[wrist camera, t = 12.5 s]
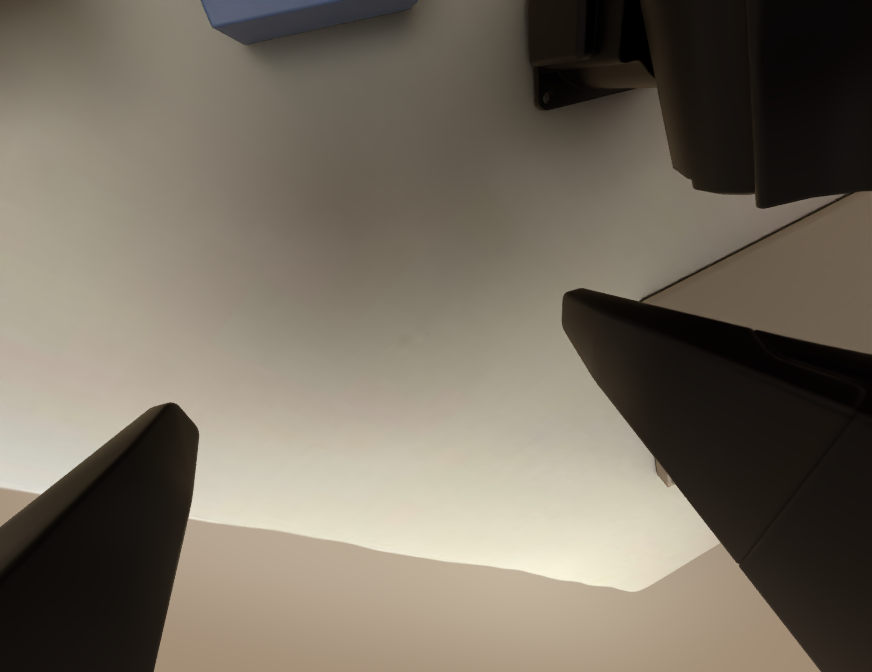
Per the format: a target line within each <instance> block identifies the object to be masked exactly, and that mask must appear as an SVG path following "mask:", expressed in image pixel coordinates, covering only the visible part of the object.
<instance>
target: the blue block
mask: <svg viewBox="0 0 872 672" xmlns="http://www.w3.org/2000/svg"><path fill="white" fill-rule="evenodd" d="M417 1H418V0H201V3H202V5H203V7H204V10H205V12H206V14H207V17H208V19H209V21H210V24H211V26H212V27H213V28H215V29H216V30H218V31H220V32H222V33H224V34H226V35H227V36H229V37H231V38H233V39H235V40H236V41H238V42H240V43H242V44H244V45H247V44H251V43H256V42H260V41H265V40H270V39H274V38H279V37H283V36H288V35H293V34H297V33H302V32H306V31H311V30H316V29H320V28H325V27H330V26H334V25H339V24H343V23H348V22H353V21H357V20H362V19H366V18H371V17H376V16H380V15H385V14H389V13H394V12H399V11H403V10H408V9H411V8H412V7H413V6H414V5H415V3H416V2H417Z"/></svg>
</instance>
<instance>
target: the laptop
mask: <svg viewBox="0 0 872 672" xmlns="http://www.w3.org/2000/svg"><path fill="white" fill-rule="evenodd" d="M642 302H643V303H647V304H651V305H655V306H660V307H664V308H668V309H672V310H677V311H681V312H685V313H689V314H693V315H698V316H702V317H706V318H710V319H714V320H719V321H723V322H727V323H731V324H736V325H740V326H744V327H748V328H752V329H753V331H754V330H761V331H765V332H770V333H774V334H778V335H782V336H787V337H791V338H796V339H800V340H805V341H809V342H814V343H818V344H823V345H828V346H833V347H838V348H843V349H848V350H853V351H858V352H863V353H868V354H872V191H861V192H855V193H853V194H851V195H849V196H847V197H845V198H843V199H841V200H839V201H837V202H836V203H834V204H832V205H830V206H828V207H826V208H824V209H822V210H820V211H818V212H816V213H814V214H812V215H810V216H808V217H806V218H804V219H802V220H800V221H798V222H796V223H794V224H793V225H791V226H789V227H787V228H785V229H783V230H781V231H779V232H777V233H775V234H773V235H771V236H769V237H767V238H765V239H763V240H761V241H759V242H757V243H755V244H753V245H751V246H750V247H748V248H746V249H744V250H742V251H740V252H738V253H736V254H734V255H732V256H730V257H728V258H726V259H724V260H722V261H720V262H718V263H716V264H714V265H712V266H710V267H708V268H707V269H705V270H703V271H701V272H699V273H697V274H695V275H693V276H691V277H689V278H687V279H685V280H683V281H681V282H679V283H677V284H675V285H673V286H671V287H669V288H667V289H665V290H664V291H662V292H660V293H658V294H656V295H654V296H652V297H650V298H648V299H646V300H644V301H642ZM656 467H657V475H658V476H659V477H660V478H661V480H662V481H663V482H664V483H665V484H666V486H667V487H670V486H672V485H674V484H675V483H674V482H673V480H672V479H671V478H670V477H669V475H668V474H667V473H666V471H665V470H664V469H663V468H662V466H661V465H660V464H659V462H658V461H657V460H656Z"/></svg>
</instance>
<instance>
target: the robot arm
mask: <svg viewBox="0 0 872 672" xmlns="http://www.w3.org/2000/svg"><path fill="white" fill-rule="evenodd" d="M529 35H530V62H531V63H532V64H533V66H534V89H535V105H536V106H537V108H538V109H540V110H551V109H555V108H559V107H563V106H567V105H571V104H575V103H579V102H583V101H587V100H591V99H595V98H599V97H603V96H607V95H611V94H615V93H619V92H623V91H627V90H631V89H636V88H652V87H657V90H658V95H659V100H660V105H661V110H662V115H663V120H664V125H665V130H666V135H667V140H668V145H669V150H670V155H671V160H672V165H673V168H674V169H675V170H677V171H678V172H679V173H681V174H682V175H683V176H685V177H686V178H688V179H691V180H692V185H693V188H694V189H696V190H701V191H706V192H712V193H717V194H729V195H751V194H755V199H756V207H757V208H762V209H765V208H770V207H774V206H778V205H782V204H787V203H791V202H795V201H799V200H804V199H808V198H812V197H820V196H828V195H836V194H845V193H853V192H861V191H872V0H529ZM545 93H548V94H549V100H548V102H547V103H546V104H545V103H544V101H543V97H544V95H545ZM562 326H563V329H564V331H565V333H566V335H567V336H568V338H569V339H570V341H571V343H572V344H573V346H574V348H575V349H576V351H577V353H578V354H579V356H580V358H581V359H582V361H583V363H584V364H585V366H586V367H587V369H588V371H589V372H590V374H591V375H592V377H593V378H594V380H595V381H596V383H597V384H598V385H599V387H600V388H601V389H602V391H603V392H604V393H605V394H606V396H607V397H608V398H609V400H610V401H611V402H612V403H613V405H614V406H615V407H616V409H617V410H618V411H619V412H620V414H621V415H622V416H623V418H624V419H625V420H626V421H627V423H628V424H629V425H630V427H631V428H632V429H633V430H634V432H635V433H636V434H637V436H638V437H639V438H640V439H641V441H642V442H643V443H644V445H645V446H646V447H647V448H648V450H649V451H650V452H651V453H652V455H653V456H654V457H655V459H656V460H657V461H658V462H659V464H660V465H661V466H662V468H663V469H664V470H665V471H666V473H667V474H668V475H669V477H670V478H671V479H672V480H673V482H674V483H675V484H676V486H677V487H678V488H679V489H680V491H681V492H682V493H683V495H684V496H685V497H686V498H687V500H688V501H689V502H690V504H691V505H692V506H693V507H694V509H695V510H696V511H697V513H698V514H699V515H700V516H701V518H702V519H703V520H704V522H705V523H706V524H707V525H708V527H709V528H710V529H711V531H712V532H713V533H714V534H715V536H716V537H717V538H718V540H719V541H720V542H721V543H722V545H723V546H724V547H725V548H726V550H727V551H728V552H729V554H730V555H731V556H732V558H733V559H734V560H735V561H736V563H738V564H739V567H740V568H741V570H742V571H743V572H744V573H745V575H746V576H747V577H748V579H749V580H750V581H751V582H752V584H753V585H754V586H755V587H756V589H757V590H758V591H759V593H760V594H761V595H762V597H763V598H764V599H765V600H766V602H767V603H768V604H769V605H770V607H771V608H772V609H773V611H774V612H775V613H776V614H777V616H778V617H779V618H780V620H781V621H782V622H783V624H784V625H785V626H786V627H787V629H788V630H789V631H790V633H791V634H792V635H793V636H794V638H795V639H796V640H797V642H798V643H799V644H800V645H801V647H802V648H803V649H804V651H805V652H806V653H807V654H808V656H809V657H810V658H811V660H812V661H813V662H814V663H815V665H816V666H817V667H818V669H819V670H820V671H821V672H872V354H868V353H863V352H858V351H853V350H848V349H843V348H838V347H833V346H828V345H823V344H818V343H814V342H809V341H805V340H800V339H796V338H791V337H787V336H782V335H778V334H774V333H770V332H765V331H761V330H754V331H753V329H752V328H748V327H744V326H740V325H736V324H731V323H727V322H723V321H719V320H714V319H710V318H706V317H702V316H698V315H693V314H689V313H685V312H681V311H677V310H672V309H668V308H664V307H660V306H655V305H651V304H647V303H643V302H639V301H634V300H630V299H626V298H622V297H618V296H613V295H609V294H605V293H601V292H596V291H592V290H588V289H584V288H579V289H575V290H572V291H568V292H566V293H565V294H564V296H563V303H562ZM198 443H199V431H198V428H197V426H196V425H195V424H194V423H193V421H192V420H191V419H190V418H189V417H188V416H187V415H186V413H185V412H184V411H183V410H182V409H181V408H180V407H179V406H178V405H177V404H175V403H171V402H170V403H166V404H162V405H158V406H155V407H152V408H150V409H149V410H147V411H146V412H145V413H144V414H142V415H141V416H140V417H138V418H137V419H136V420H135V421H133V422H132V423H131V424H130V425H128V426H127V427H126V428H125V429H123V430H122V431H121V432H120V433H118V434H117V435H116V436H114V437H113V438H112V439H111V440H109V441H108V442H107V443H106V444H104V445H103V446H102V447H101V448H99V449H98V450H97V451H96V452H94V453H93V454H92V455H90V456H89V457H88V458H87V459H85V460H84V461H83V462H82V463H80V464H79V465H78V466H77V467H75V468H74V469H73V470H72V471H70V472H69V473H68V474H67V475H65V476H64V477H63V478H61V479H60V480H59V481H58V482H56V483H55V484H54V485H53V486H51V487H50V488H49V489H48V490H46V491H45V492H44V493H43V494H41V495H40V496H39V497H38V498H36V499H35V500H34V501H32V502H31V503H30V504H29V505H27V506H26V507H25V508H24V509H22V510H21V511H20V512H19V513H17V514H16V515H15V516H13V517H12V518H11V519H10V520H8V521H7V522H6V523H5V524H4V525H2V526H1V527H0V672H154V668H155V663H156V659H157V654H158V650H159V645H160V641H161V637H162V632H163V627H164V623H165V619H166V614H167V610H168V606H169V601H170V597H171V592H172V587H173V583H174V579H175V575H176V570H177V565H178V561H179V557H180V552H181V548H182V544H183V539H184V535H185V530H186V526H187V521H188V517H189V513H190V507H191V502H192V496H193V489H194V479H195V470H196V461H197V452H198Z"/></svg>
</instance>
